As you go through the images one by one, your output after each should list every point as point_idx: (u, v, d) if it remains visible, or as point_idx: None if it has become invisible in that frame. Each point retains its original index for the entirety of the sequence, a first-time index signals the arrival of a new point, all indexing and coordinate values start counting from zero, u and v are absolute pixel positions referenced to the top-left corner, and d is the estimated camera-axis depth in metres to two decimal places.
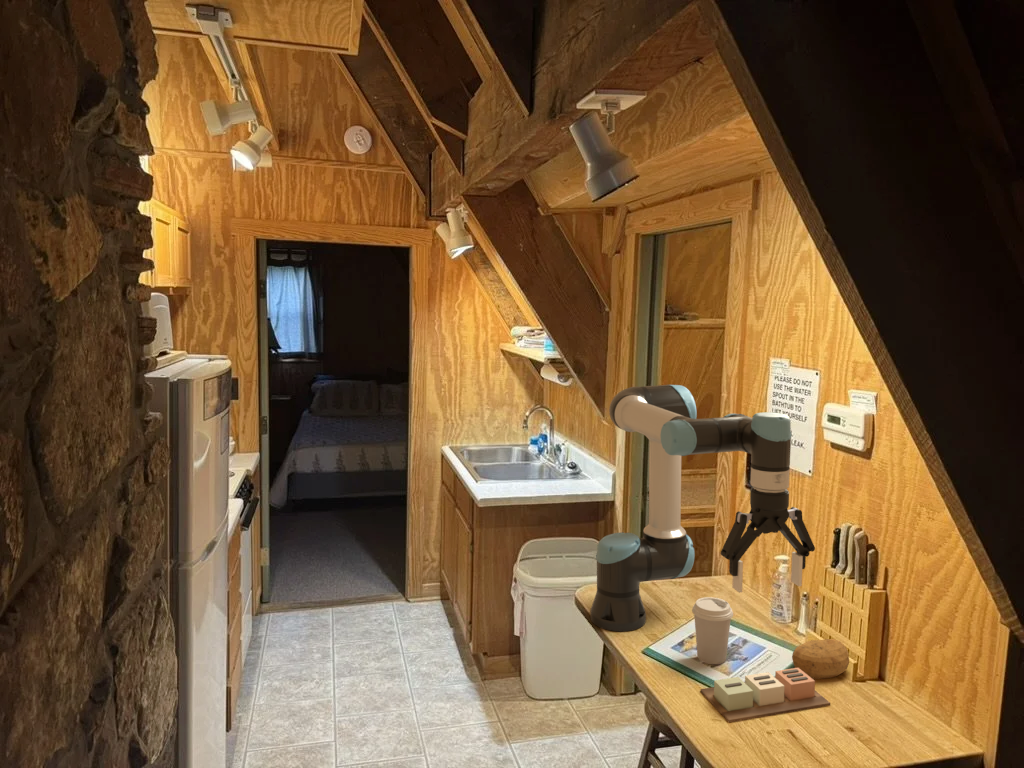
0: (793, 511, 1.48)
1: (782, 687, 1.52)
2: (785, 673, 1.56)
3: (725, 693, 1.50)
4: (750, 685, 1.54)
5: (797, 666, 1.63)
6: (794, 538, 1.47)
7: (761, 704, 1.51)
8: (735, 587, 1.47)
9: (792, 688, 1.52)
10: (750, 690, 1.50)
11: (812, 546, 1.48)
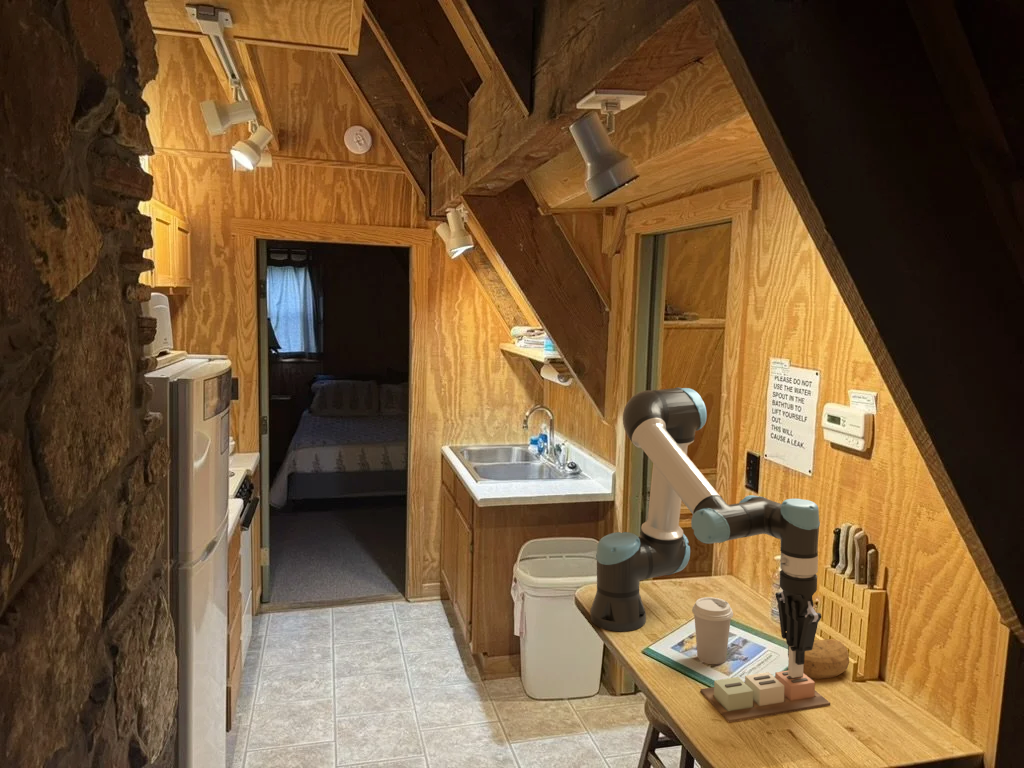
0: (811, 612, 1.49)
1: (782, 687, 1.52)
2: (785, 674, 1.57)
3: (725, 693, 1.50)
4: (750, 685, 1.54)
5: None
6: (796, 630, 1.52)
7: (761, 704, 1.51)
8: None
9: (792, 689, 1.52)
10: (750, 690, 1.50)
11: (801, 647, 1.51)
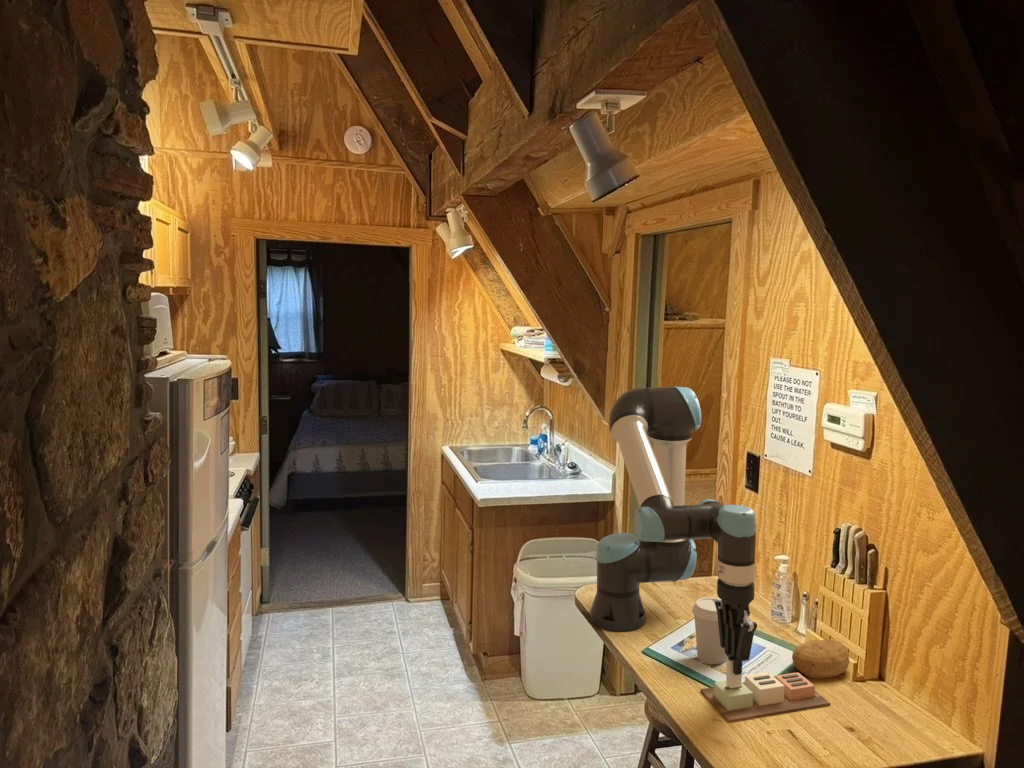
0: (746, 621, 1.45)
1: (782, 687, 1.52)
2: (785, 678, 1.57)
3: (725, 695, 1.50)
4: (750, 685, 1.54)
5: (797, 666, 1.63)
6: (733, 639, 1.49)
7: (761, 704, 1.51)
8: None
9: (792, 692, 1.52)
10: (750, 692, 1.50)
11: (738, 657, 1.48)
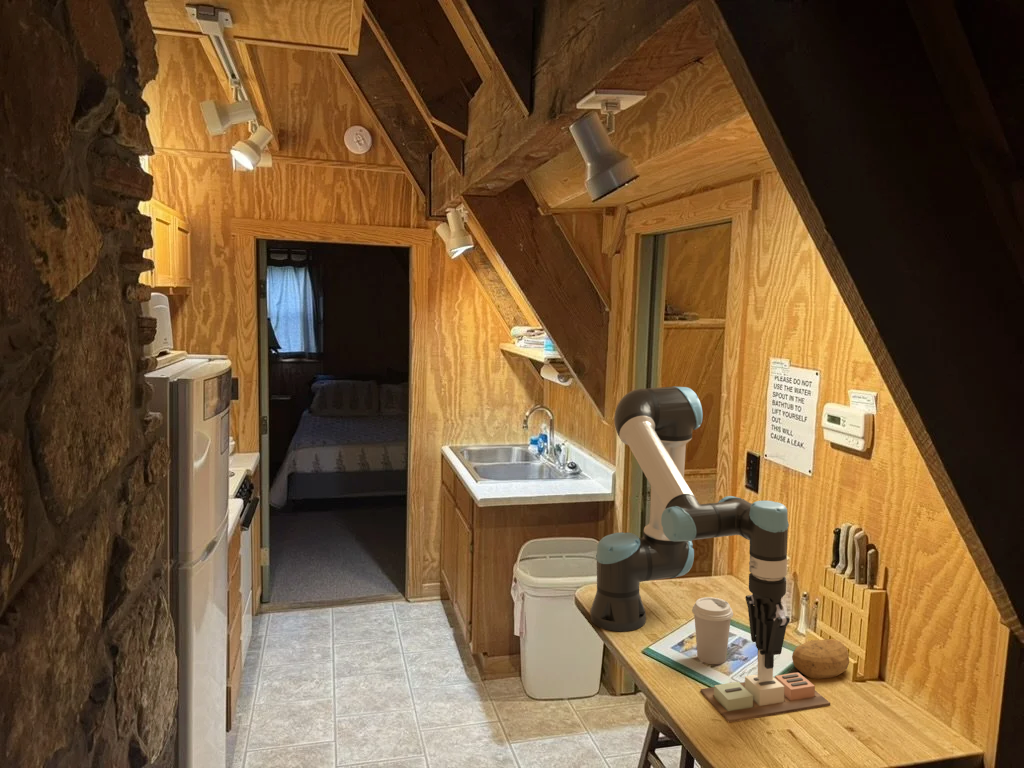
0: (779, 615, 1.47)
1: (782, 688, 1.52)
2: (785, 678, 1.57)
3: (725, 697, 1.50)
4: (750, 686, 1.54)
5: (797, 666, 1.63)
6: (765, 633, 1.51)
7: (761, 705, 1.51)
8: None
9: (792, 692, 1.52)
10: (750, 695, 1.50)
11: (770, 651, 1.49)
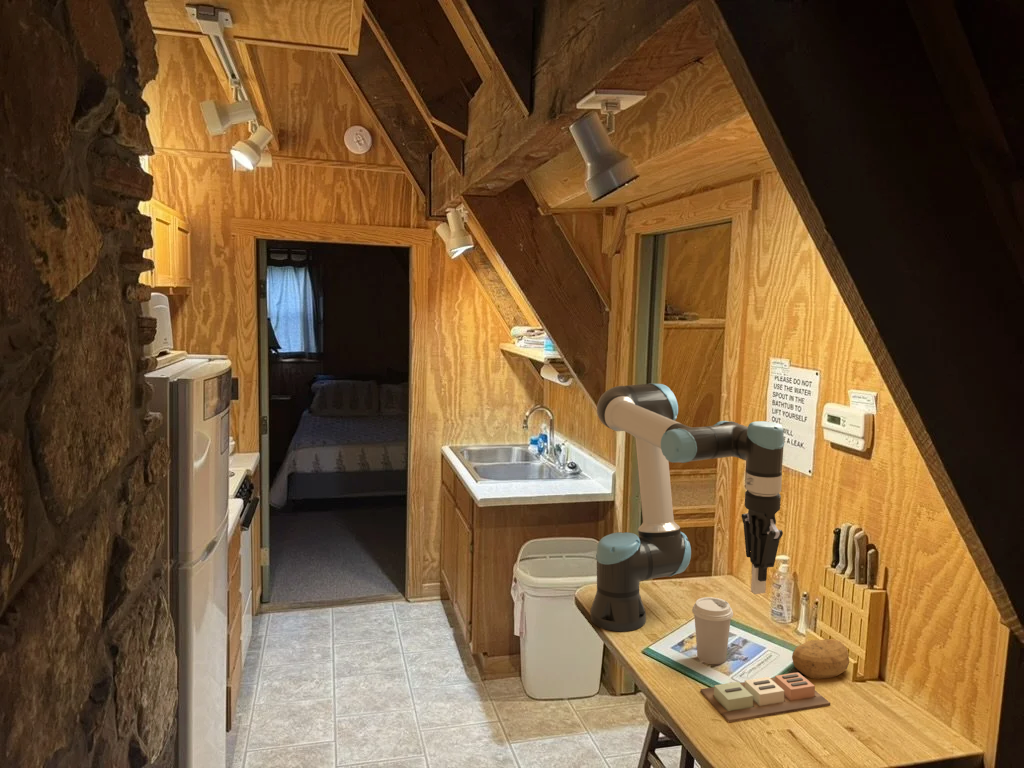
0: (773, 529, 1.53)
1: (782, 692, 1.52)
2: (785, 678, 1.57)
3: (725, 697, 1.50)
4: (750, 690, 1.54)
5: (797, 666, 1.63)
6: (759, 547, 1.58)
7: None
8: None
9: (792, 692, 1.52)
10: (750, 695, 1.50)
11: (763, 563, 1.56)
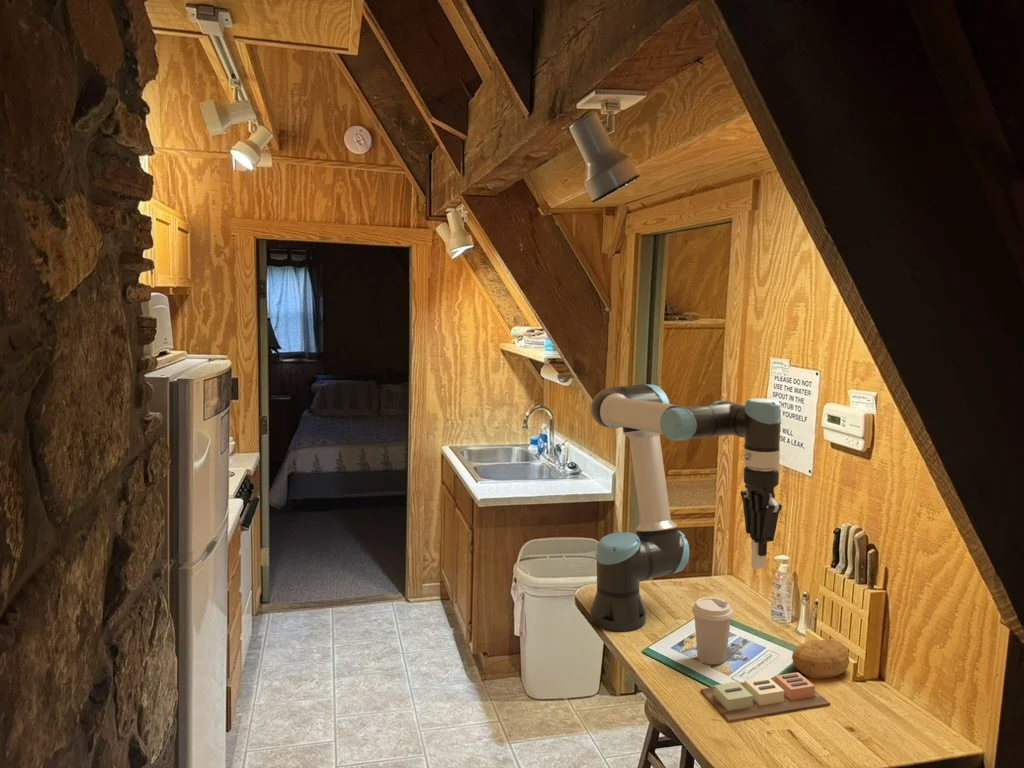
0: (772, 503, 1.56)
1: (782, 692, 1.52)
2: (785, 678, 1.57)
3: (725, 697, 1.50)
4: (750, 690, 1.54)
5: (797, 666, 1.63)
6: (759, 522, 1.60)
7: None
8: None
9: (792, 692, 1.52)
10: (750, 695, 1.50)
11: (763, 538, 1.59)
